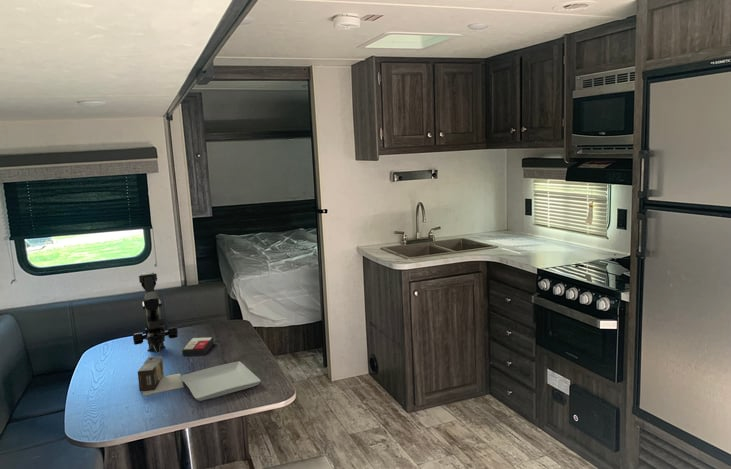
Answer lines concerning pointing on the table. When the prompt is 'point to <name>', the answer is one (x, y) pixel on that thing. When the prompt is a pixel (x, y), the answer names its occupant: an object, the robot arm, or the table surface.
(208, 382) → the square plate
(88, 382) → the table surface
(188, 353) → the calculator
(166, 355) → the table surface
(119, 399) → the table surface
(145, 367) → the coffee box
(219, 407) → the table surface
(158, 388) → the mat
